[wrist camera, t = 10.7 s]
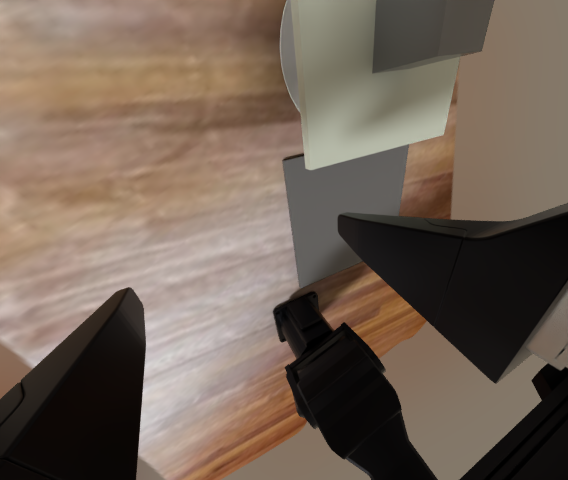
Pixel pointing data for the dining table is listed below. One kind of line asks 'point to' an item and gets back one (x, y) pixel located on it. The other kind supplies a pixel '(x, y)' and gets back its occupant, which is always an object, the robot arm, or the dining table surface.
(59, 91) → the dining table surface
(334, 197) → the mat
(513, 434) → the robot arm
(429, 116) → the lid
